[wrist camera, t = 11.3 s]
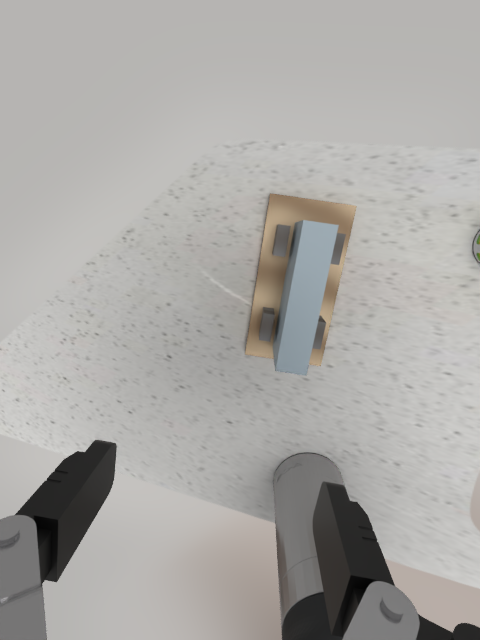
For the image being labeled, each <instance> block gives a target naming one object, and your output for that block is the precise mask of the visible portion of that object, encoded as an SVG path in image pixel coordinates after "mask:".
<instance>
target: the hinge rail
mask: <svg viewBox="0 0 480 640" xmlns="http://www.w3.org/2000/svg"><path fill="white" fill-rule="evenodd" d="M356 207H357V206H352V205H346V204H339V203H332V202H325V201H318V200H311V199H305V198H298V197H291V196H284V195H277V194H270V197H269V204H268V210H267V217H266V223H265V229H264V236H263V242H262V248H261V255H260V261H259V267H258V274H257V280H256V286H255V293H254V299H253V306H252V312H251V318H250V325H249V331H248V337H247V344H246V350H245V354H246V355H252V356H259V357H265V358H272V359H274V355H273V341H274V336H275V330H276V324H277V319H278V313H279V308H280V302H281V297H282V291H283V286H284V280H285V275H286V269H287V264H288V258H289V252H290V247H291V241H292V236H293V230H294V225H295V222H299V221H302V220H307V221H314V222H320V223H327V224H334V225H339V226H338V231H337V235H336V240H335V245H334V249H333V254H332V259H331V263H330V268H329V273H328V277H327V282H326V287H325V291H324V296H323V301H322V305H321V310H320V315H319V319H318V324H317V329H316V333H315V338H314V342H313V347H312V352H311V356H310V361H309V364H310V365H317V366H321V362H322V358H323V353H324V349H325V344H326V340H327V335H328V331H329V327H330V322H331V318H332V313H333V309H334V304H335V300H336V295H337V291H338V287H339V282H340V278H341V273H342V269H343V264H344V260H345V256H346V251H347V247H348V242H349V238H350V233H351V229H352V224H353V220H354V216H355V211H356Z"/></svg>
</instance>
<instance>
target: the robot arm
mask: <svg viewBox="0 0 480 640" xmlns="http://www.w3.org/2000/svg"><path fill="white" fill-rule="evenodd" d="M115 460H116V443H112V442H106V441H100V440H95V441H94V442H93V443H92V444H91V445H90V447H89V448H88V449H87V450H86V452H79V451H77V452H75V453H74V454H72V455H70V456H69V457H67V458H66V459H64V460H63V461H62V462H61V464H60V465H59V466H58V467H57V468H56V469H55V471H54V472H53V473H52V474H51V475H50V476H49V477H48V478H47V481H45V482H44V483H43V484H42V485H41V486H40V487H39V488H38V489H37V491H36V492H35V493H34V494H33V495H32V496H31V497H30V499H29V500H28V501H27V502H26V503H25V504H24V505H23V506H22V508H21V509H20V510H19V511H18V512H17V513H16V514H15V515H14V516H9V517H6V518H3V519H1V520H0V640H47V635H46V623H45V611H44V598H43V588H42V583H43V582H44V580H48V581H54V582H57V581H58V579H59V577H60V576H61V574H62V572H63V571H64V569H65V567H66V566H67V564H68V562H69V561H70V559H71V557H72V555H73V554H74V552H75V550H76V549H77V547H78V545H79V544H80V542H81V540H82V539H83V537H84V535H85V534H86V532H87V530H88V528H89V527H90V525H91V523H92V521H93V520H94V518H95V517H96V515H97V513H98V511H99V510H100V508H101V506H102V505H103V503H104V501H105V500H106V498H107V496H108V494H109V492H110V490H111V488H112V485H113V481H114V473H115ZM273 484H274V502H275V523H276V540H277V559H278V576H279V593H280V609H281V627H282V640H480V628H479V627H476V626H475V625H471V624H467V623H461V624H458V625H457V626H456V627H455V629H454V631H453V633H452V632H450V631H448V630H446V629H444V628H442V627H440V626H438V625H436V624H434V623H432V622H430V621H428V620H427V619H425V618H423V617H421V616H420V615H419V614H418V613H417V611H416V609H415V607H414V605H413V604H412V602H411V601H410V600H409V598H408V597H407V596H406V595H405V594H404V593H403V592H402V591H401V590H399V589H398V588H396V587H395V585H394V582H393V580H392V577H391V574H390V572H389V569H388V567H387V564H386V562H385V559H384V556H383V554H382V551H381V549H380V546H379V543H378V542H377V538H376V536H375V533H374V531H373V528H372V525H371V523H370V520H369V518H368V515H367V514H366V513H365V511H364V510H363V509H362V508H361V506H360V505H359V504H358V503H357V502H352V501H350V500H349V497H348V494H347V491H346V488H345V485H344V482H343V479H342V476H341V473H340V471H339V469H338V468H337V466H336V465H335V464H334V463H333V462H332V461H330V460H329V459H327V458H325V457H323V456H321V455H317V454H309V453H305V454H298V455H295V456H292V457H290V458H288V459H287V460H285V461H284V462H283V463H282V464H280V466H279V467H278V469H277V470H276V472H275V475H274V480H273Z"/></svg>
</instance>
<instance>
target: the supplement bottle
mask: <svg viewBox="0 0 480 640" xmlns="http://www.w3.org/2000/svg"><path fill="white" fill-rule="evenodd" d="M473 250H474V255H475V257H476V259H477V260H478V262H479V263H480V231H479V232H478V234H477V236H476V238H475V241H474V245H473Z"/></svg>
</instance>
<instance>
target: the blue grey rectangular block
mask: <svg viewBox="0 0 480 640" xmlns="http://www.w3.org/2000/svg"><path fill="white" fill-rule="evenodd" d="M338 226H339V225H334V224H327V223H320V222H314V221H307V220H302V221H299V222H295V225H294V230H293V236H292V241H291V247H290V252H289V258H288V264H287V269H286V275H285V280H284V286H283V291H282V297H281V302H280V308H279V313H278V319H277V324H276V330H275V336H274V341H273V355H274V363H275V371H280V372H286V373H293V374H299V375H307V370H308V366H309V361H310V356H311V352H312V347H313V342H314V338H315V333H316V329H317V324H318V319H319V315H320V310H321V305H322V301H323V296H324V291H325V287H326V282H327V277H328V273H329V268H330V263H331V259H332V254H333V249H334V245H335V240H336V235H337V231H338Z"/></svg>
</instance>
